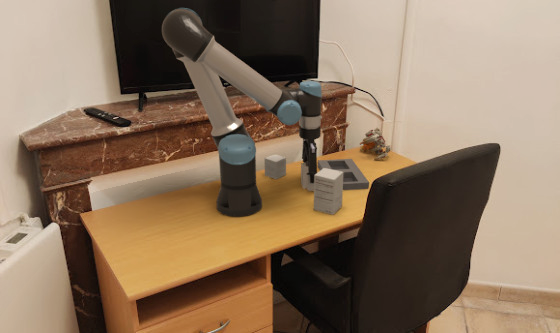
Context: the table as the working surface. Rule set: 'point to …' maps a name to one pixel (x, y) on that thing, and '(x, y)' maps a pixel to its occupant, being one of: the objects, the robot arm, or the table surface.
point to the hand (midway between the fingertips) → (308, 184)
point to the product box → (275, 166)
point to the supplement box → (328, 190)
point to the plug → (304, 174)
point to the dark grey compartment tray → (346, 173)
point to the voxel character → (375, 143)
